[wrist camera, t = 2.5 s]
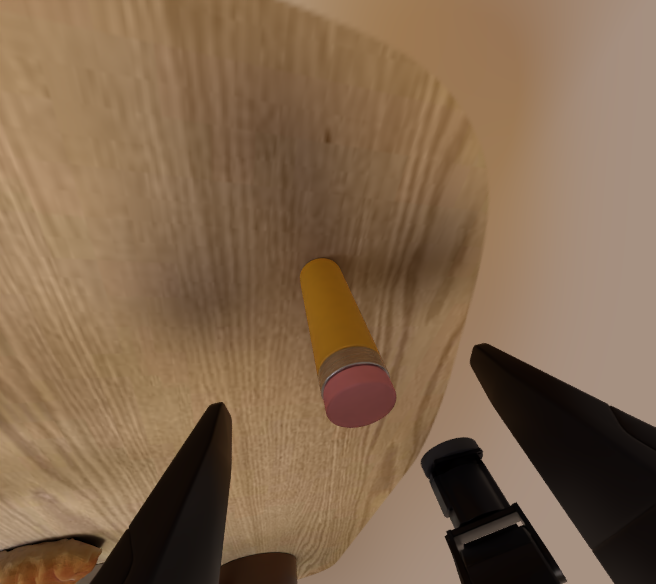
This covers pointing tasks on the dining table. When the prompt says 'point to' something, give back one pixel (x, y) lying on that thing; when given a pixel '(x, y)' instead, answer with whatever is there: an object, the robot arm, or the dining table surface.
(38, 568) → the pastry
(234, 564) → the brown cylindrical pot
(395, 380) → the dining table surface
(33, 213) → the dining table surface
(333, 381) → the pencil
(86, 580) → the red gift box
